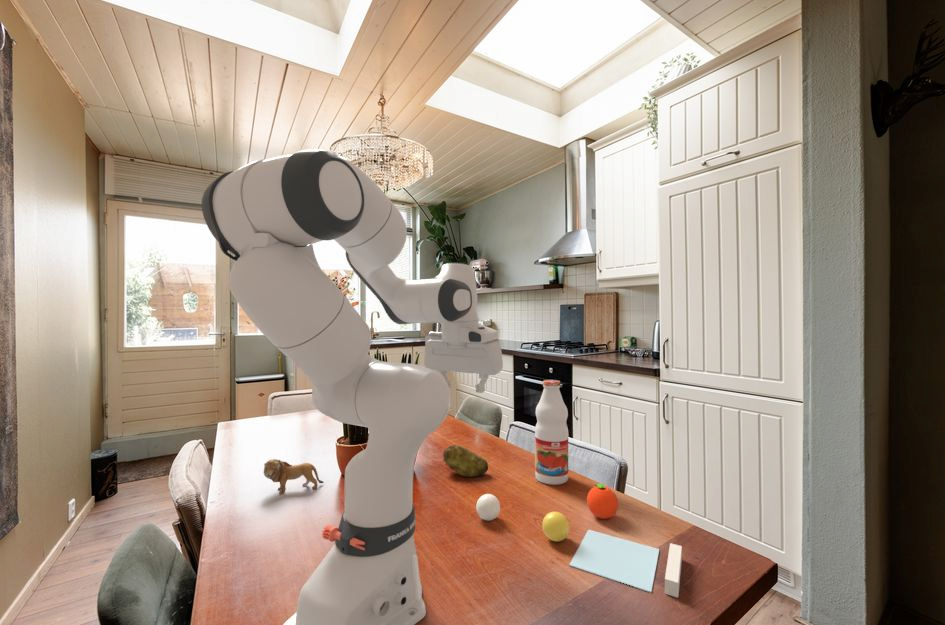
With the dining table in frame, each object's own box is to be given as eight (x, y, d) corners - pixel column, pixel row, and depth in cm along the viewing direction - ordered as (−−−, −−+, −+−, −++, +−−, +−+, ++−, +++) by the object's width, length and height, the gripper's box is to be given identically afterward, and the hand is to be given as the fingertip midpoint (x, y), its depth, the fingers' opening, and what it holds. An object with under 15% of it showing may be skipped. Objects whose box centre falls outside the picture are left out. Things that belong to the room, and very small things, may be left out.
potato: (477, 484, 109) (477, 455, 109) (439, 474, 115) (439, 447, 115) (490, 473, 116) (490, 446, 116) (453, 465, 122) (453, 439, 122)
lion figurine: (263, 499, 99) (263, 464, 99) (263, 491, 104) (263, 457, 104) (324, 487, 106) (325, 454, 106) (322, 480, 111) (322, 448, 111)
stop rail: (678, 598, 65) (678, 582, 65) (664, 593, 66) (664, 578, 66) (681, 559, 75) (681, 546, 75) (670, 555, 76) (670, 543, 76)
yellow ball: (564, 550, 78) (564, 522, 78) (538, 542, 81) (538, 515, 81) (572, 536, 83) (572, 510, 83) (547, 529, 86) (547, 504, 86)
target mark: (651, 592, 66) (651, 591, 66) (569, 565, 73) (569, 564, 73) (659, 550, 78) (659, 549, 78) (588, 530, 85) (588, 529, 85)
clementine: (581, 507, 95) (581, 478, 95) (608, 506, 96) (608, 477, 96) (593, 525, 87) (593, 493, 87) (623, 524, 88) (623, 492, 88)
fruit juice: (565, 472, 117) (565, 378, 117) (571, 486, 107) (571, 384, 108) (533, 471, 117) (533, 378, 118) (536, 485, 108) (536, 383, 108)
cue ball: (493, 528, 86) (493, 502, 86) (471, 521, 89) (471, 496, 89) (504, 516, 91) (504, 493, 91) (483, 510, 94) (483, 487, 94)
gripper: (417, 333, 95) (420, 389, 96) (491, 335, 84) (494, 398, 86) (432, 329, 100) (435, 382, 101) (504, 331, 90) (507, 390, 91)
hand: (463, 390), depth 93 cm, fingers open, 8 cm apart
